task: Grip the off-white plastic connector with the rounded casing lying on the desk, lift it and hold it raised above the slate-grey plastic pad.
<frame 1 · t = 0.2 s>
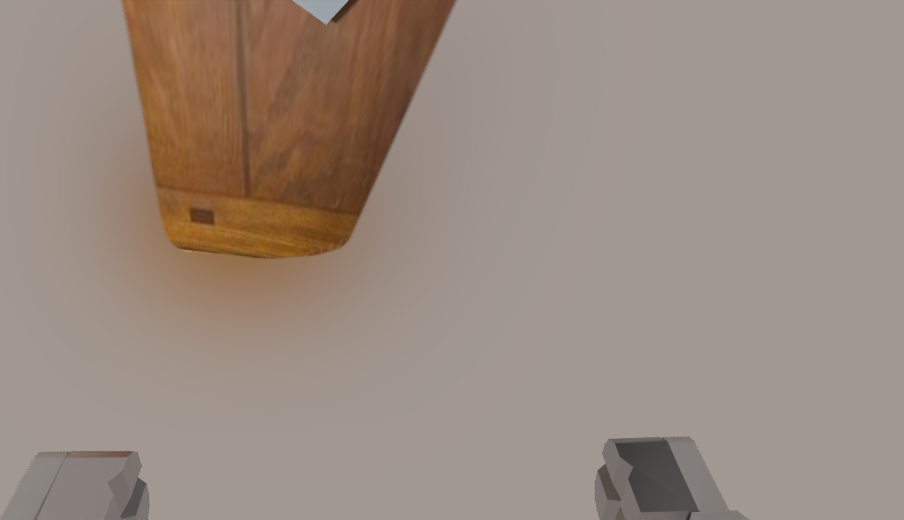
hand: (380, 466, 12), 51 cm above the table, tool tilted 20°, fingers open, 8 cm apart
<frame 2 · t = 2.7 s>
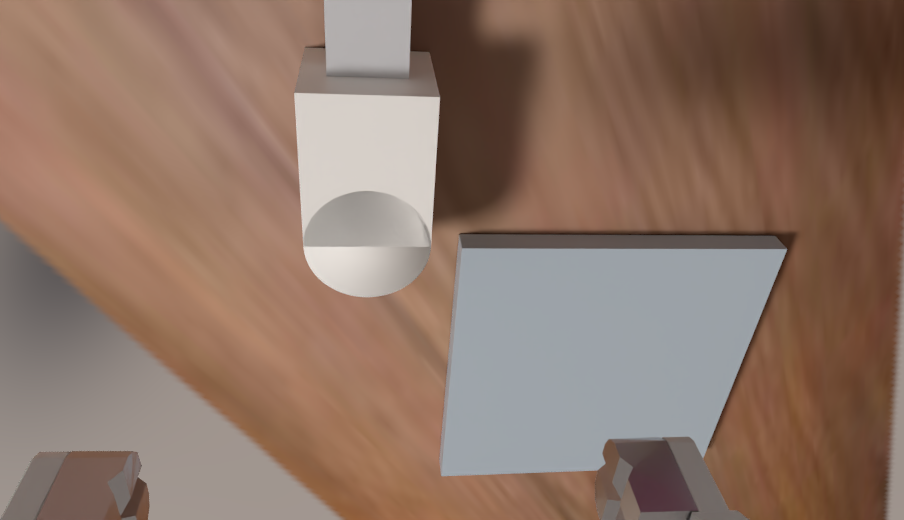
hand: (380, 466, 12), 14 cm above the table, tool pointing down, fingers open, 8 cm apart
grey pad: (592, 357, 31), on the table
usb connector: (367, 122, 24), on the table
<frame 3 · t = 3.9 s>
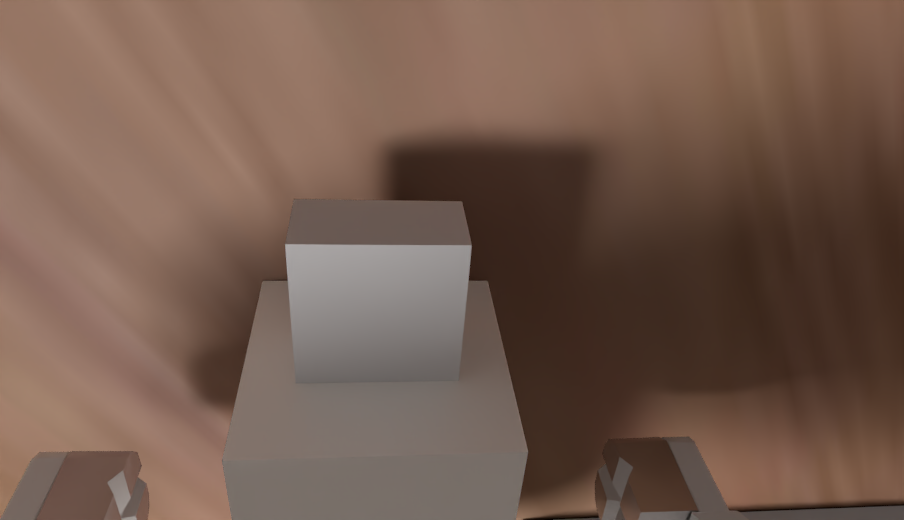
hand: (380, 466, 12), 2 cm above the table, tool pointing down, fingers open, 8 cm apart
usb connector: (376, 383, 14), on the table
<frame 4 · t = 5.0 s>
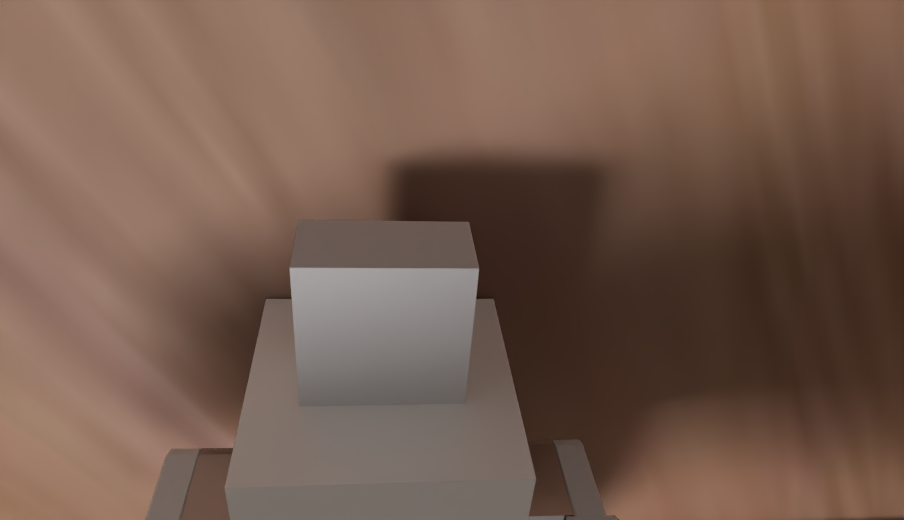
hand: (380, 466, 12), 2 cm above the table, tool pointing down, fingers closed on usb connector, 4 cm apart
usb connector: (380, 401, 14), on the table, touching gripper
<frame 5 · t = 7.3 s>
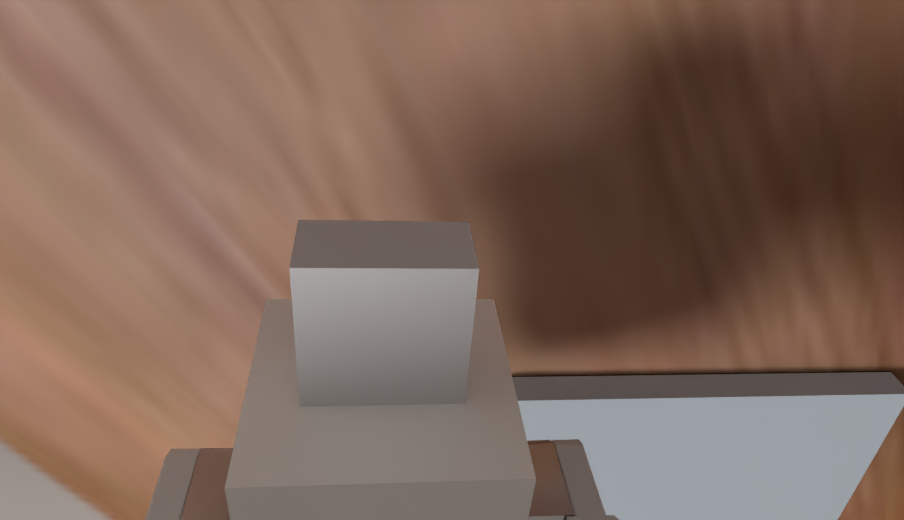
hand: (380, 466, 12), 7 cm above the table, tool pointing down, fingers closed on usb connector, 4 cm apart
grey pad: (652, 508, 25), on the table
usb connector: (380, 401, 14), point 5 cm above the table, touching gripper
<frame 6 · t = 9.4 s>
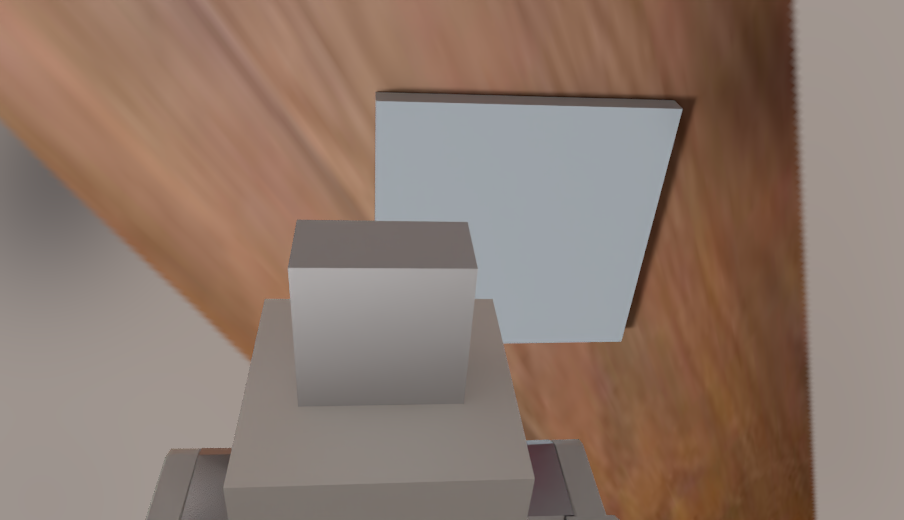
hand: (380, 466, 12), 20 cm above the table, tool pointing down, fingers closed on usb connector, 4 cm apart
grey pad: (511, 226, 33), on the table
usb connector: (379, 401, 14), point 18 cm above the table, touching gripper
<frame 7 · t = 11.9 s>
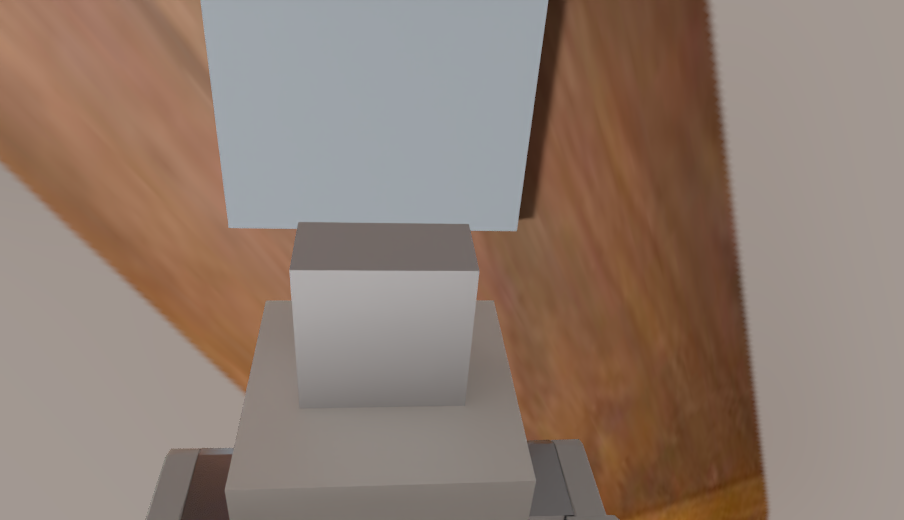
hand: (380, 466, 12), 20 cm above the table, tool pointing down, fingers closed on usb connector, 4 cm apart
grey pad: (377, 82, 29), on the table
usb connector: (380, 403, 14), point 18 cm above the table, touching gripper
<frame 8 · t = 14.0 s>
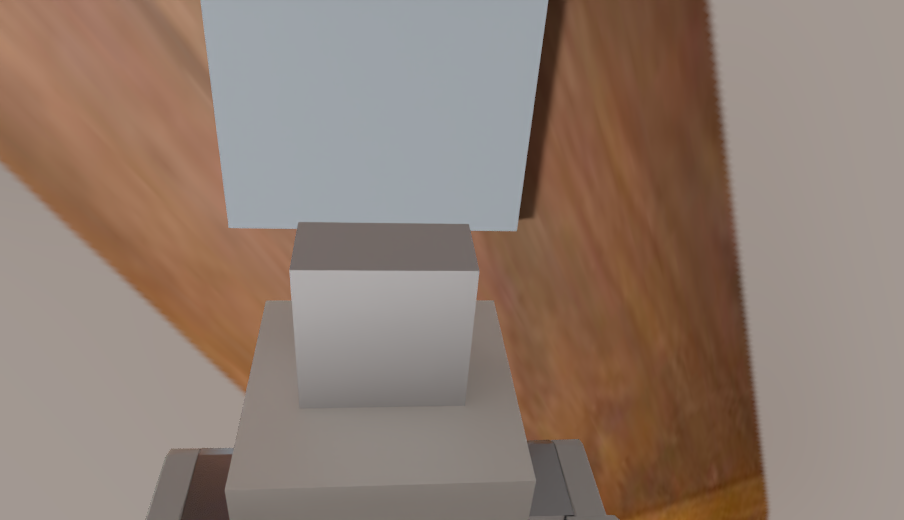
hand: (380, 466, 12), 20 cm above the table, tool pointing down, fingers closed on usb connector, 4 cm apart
grey pad: (377, 82, 29), on the table
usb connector: (380, 403, 14), point 18 cm above the table, touching gripper
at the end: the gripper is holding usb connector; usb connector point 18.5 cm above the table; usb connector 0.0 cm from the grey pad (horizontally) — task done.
